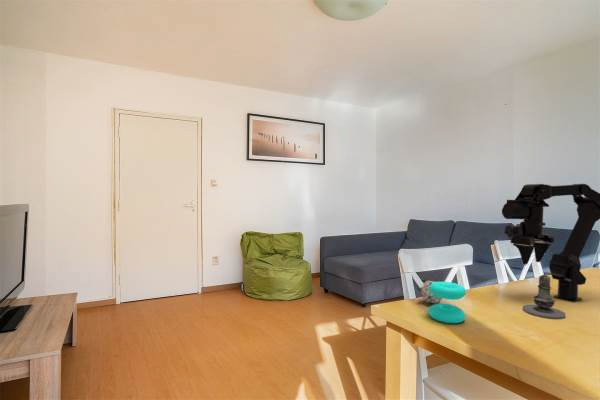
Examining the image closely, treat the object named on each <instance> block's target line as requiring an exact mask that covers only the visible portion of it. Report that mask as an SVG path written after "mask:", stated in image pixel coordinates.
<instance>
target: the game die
mask: <svg viewBox="0 0 600 400" xmlns="http://www.w3.org/2000/svg"><path fill="white" fill-rule="evenodd" d="M424 281H425V282H424V283H423V285H421V287H419V288H417V290H419V291H420V293H421V296H422V299H423V301H422V304H425V303H430V304H431V303H432V304H440V302H441V301H442V298H439V297H436V296H435V295H433V294H432V293H431V292H430V290H429V286H430V284H432V283H434V282H435V281H434V280H428V279H427V278H425V280H424ZM439 282H443V281H442V280H440V281H439Z"/></svg>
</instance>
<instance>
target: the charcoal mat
mask: <svg viewBox="0 0 600 400" xmlns="http://www.w3.org/2000/svg"><path fill="white" fill-rule="evenodd" d="M536 306H537V305H536V304H525V305H524V304H523V305H522V311H523V312H525V313H526V314H528V315H531V316H534V317H539V318H544V319H548V320H549V319H550V320H562V319H565V318H566V312H564V311H563V310H560V309H557V308H555V307H551V308H550V309H552V310H553V311H554V313H544V312H539V311H536V310H534V309H533V308H534V307H536Z"/></svg>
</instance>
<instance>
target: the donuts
mask: <svg viewBox="0 0 600 400" xmlns="http://www.w3.org/2000/svg"><path fill="white" fill-rule="evenodd" d="M429 290H430V292H431V293H432V294H433V295H435V296H436V297H439V298H442V299H444V300H449V301H450V300H451V301H453V300H454V301H456V300H460V299H462V298H465V296H466V294H467V290H466V288H465V286H462V285H461V284H459V283H455V282H450V281H442V282H440V281H434V283H432V284H430V286H429ZM442 299H441V300H442ZM428 314H429V316H430V317H431V318H432V319H434V320H435V321H438V322H440V323H445V324H459V323H462V322H464V321H465V319H466V313H465V311H464V310H463V309H462V308H460V307H459V306H456V305H454V304H450V303H443V302H442V303H440V302H439V304H435V303H433V304H432V305H430V306H429V308H428Z"/></svg>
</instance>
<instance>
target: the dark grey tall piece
mask: <svg viewBox="0 0 600 400" xmlns="http://www.w3.org/2000/svg"><path fill="white" fill-rule="evenodd" d="M537 287H538V289H537V290H538V293H537V294H536V295H533V296H532V299H533V302H534V305H537V306H536V307H534V308H533V309H534V310H536V311H539V312H544V313H554V311H553V310H552V309H550V308H553V306H554V305H555V302H556V300H555V299H554V298H552V297H551V289H552V286H551V277H550V276H548V275H547V273H546V272H543V274H542V275H540V276H539V278H538V285H537Z"/></svg>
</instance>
